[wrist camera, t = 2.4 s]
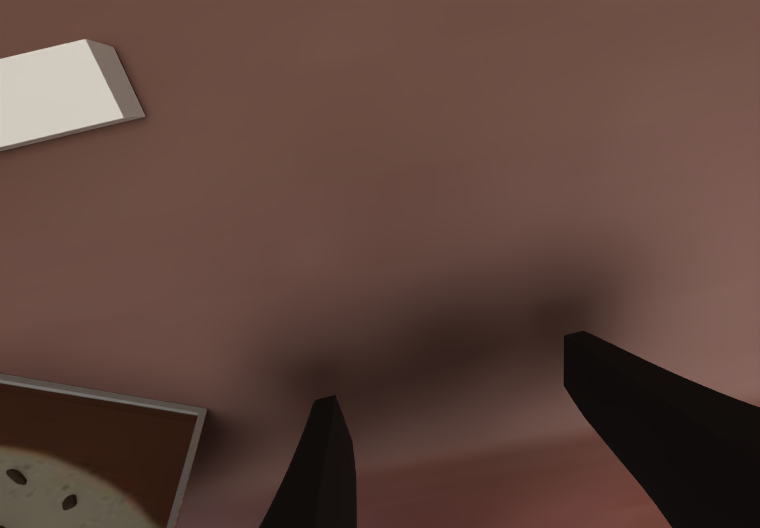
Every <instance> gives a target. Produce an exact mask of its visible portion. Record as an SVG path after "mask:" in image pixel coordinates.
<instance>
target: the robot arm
mask: <svg viewBox="0 0 760 528" xmlns="http://www.w3.org/2000/svg"><path fill="white" fill-rule="evenodd" d="M564 387H565V388H566V390H567V391H568V393H569V395H570V396H571V398H572V399H573V401H574V402H575V404H576V405H577V407H578V408H579V410H580V411H581V413H582V414H583V416H584V417H585V418H586V420H587V421H588V422H589V423H590V425H591V426H592V427H593V428H594V429H595V431H596V432H597V433H598V434H599V436H600V437H601V438H602V439H603V440H604V442H605V443H606V444H607V445H608V446H609V448H610V449H611V450H612V451H613V452H614V454H615V455H616V456H617V457H618V458H619V460H620V461H621V462H622V463H623V464H624V466H625V467H626V468H627V469H628V470H629V472H630V473H631V474H632V475H633V476H634V478H635V479H636V480H637V481H638V482H639V484H640V485H641V486H642V487H643V489H644V490H645V491H646V492H647V494H648V495H649V496H650V498H651V499H652V500H653V501H654V503H655V504H656V505H657V507H658V508H659V510H660V511H661V512H662V514H663V515H664V517H665V518H666V519H667V521H668V522H669V524H670V525H671V527H672V528H760V407H757V406H754V405H751V404H748V403H746V402H743V401H740V400H737V399H735V398H732V397H730V396H727V395H724V394H722V393H719V392H717V391H714V390H712V389H710V388H707V387H705V386H702V385H700V384H698V383H695V382H693V381H690V380H688V379H686V378H683V377H681V376H679V375H677V374H674V373H672V372H670V371H668V370H665V369H663V368H661V367H659V366H657V365H655V364H652V363H650V362H648V361H646V360H644V359H642V358H640V357H638V356H635V355H633V354H631V353H629V352H627V351H625V350H623V349H621V348H619V347H617V346H615V345H613V344H611V343H609V342H606V341H604V340H602V339H600V338H598V337H596V336H594V335H592V334H589V333H587V332H585V331H580V332H576V333H572V334H569V335H565V336H564ZM259 528H357V503H356V470H355V461H354V452H353V444H352V439H351V436H350V434H349V431H348V428H347V425H346V423H345V420H344V417H343V414H342V412H341V409H340V406H339V403H338V401H337V398H336V395H333V396H330V397H326V398H322V399H318V400H316V401H315V402H314V403H313V406H312V409H311V412H310V415H309V418H308V421H307V423H306V426H305V429H304V431H303V434H302V436H301V439H300V442H299V444H298V446H297V449H296V451H295V454H294V456H293V458H292V461H291V463H290V465H289V468H288V470H287V472H286V474H285V477H284V479H283V481H282V483H281V485H280V487H279V489H278V491H277V493H276V495H275V498H274V500H273V502H272V504H271V506H270V508H269V510H268V512H267V514H266V516H265V517H264V519H263V521H262V523H261V525H260V527H259Z"/></svg>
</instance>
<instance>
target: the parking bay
mask: <svg viewBox="0 0 760 528" xmlns="http://www.w3.org/2000/svg"><path fill="white" fill-rule="evenodd" d="M143 117H146V116H145V114H144V112H143V110H142V108H141V105H140V103H139V101H138V99H137V97H136V95H135V92H134V90H133V88H132V86H131V84H130V82H129V80H128V77H127V75H126V73H125V71H124V69H123V67H122V64H121V62H120V60H119V58H118V56H117V54H116V51H115V49H114V47H112V46H108V45H104V44H101V43H97V42H94V41H90V40H87V39H84V40H80V41H75V42H71V43H67V44H63V45H58V46H54V47H50V48H45V49H41V50H37V51H32V52H28V53H24V54H20V55H15V56H11V57H7V58H2V59H0V151H4V150H9V149H13V148H17V147H21V146H25V145H30V144H34V143H38V142H42V141H46V140H51V139H55V138H59V137H63V136H67V135H71V134H76V133H80V132H84V131H88V130H92V129H97V128H101V127H105V126H109V125H113V124H118V123H122V122H126V121H130V120H134V119H139V118H143Z"/></svg>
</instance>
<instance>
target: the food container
mask: <svg viewBox="0 0 760 528" xmlns="http://www.w3.org/2000/svg"><path fill="white" fill-rule="evenodd" d="M206 413H207V409H206V408H200V407H194V406H189V405H183V404H177V403H171V402H165V401H159V400H153V399H147V398H142V397H136V396H130V395H124V394H118V393H112V392H106V391H100V390H95V389H89V388H83V387H77V386H71V385H65V384H59V383H53V382H47V381H42V380H36V379H30V378H24V377H18V376H12V375H6V374H0V528H176V525H177V521H178V517H179V514H180V510H181V506H182V502H183V499H184V495H185V491H186V488H187V484H188V480H189V476H190V473H191V469H192V465H193V461H194V458H195V454H196V450H197V446H198V443H199V439H200V435H201V431H202V428H203V424H204V420H205V416H206Z"/></svg>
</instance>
